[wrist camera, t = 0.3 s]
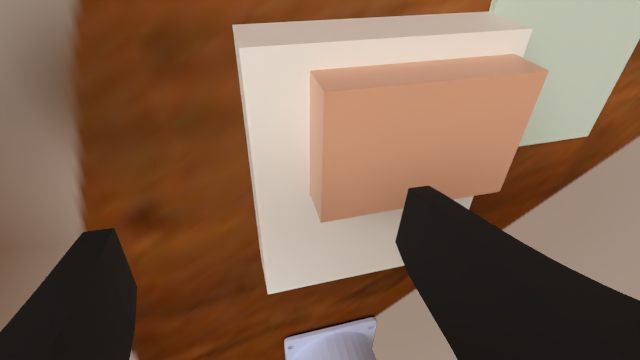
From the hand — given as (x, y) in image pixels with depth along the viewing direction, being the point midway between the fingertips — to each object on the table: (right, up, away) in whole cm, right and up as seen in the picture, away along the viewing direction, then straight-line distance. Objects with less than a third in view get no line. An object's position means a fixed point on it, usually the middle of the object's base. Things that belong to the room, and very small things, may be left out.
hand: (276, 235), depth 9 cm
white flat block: (+3, +3, +11) cm, 12 cm away
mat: (+14, +9, +10) cm, 19 cm away
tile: (+5, +4, +7) cm, 10 cm away
